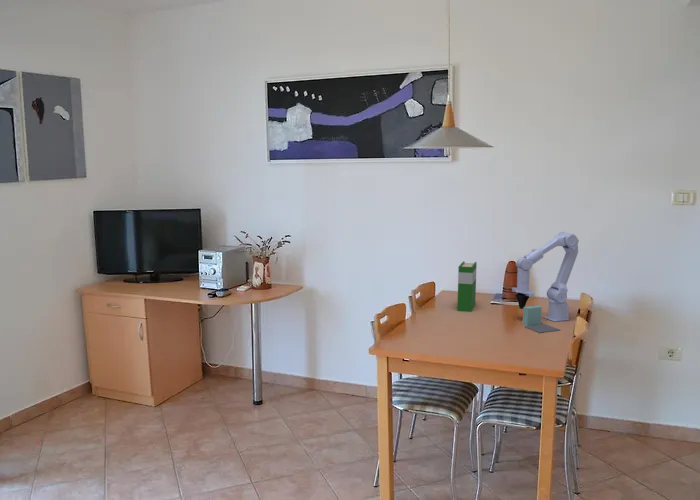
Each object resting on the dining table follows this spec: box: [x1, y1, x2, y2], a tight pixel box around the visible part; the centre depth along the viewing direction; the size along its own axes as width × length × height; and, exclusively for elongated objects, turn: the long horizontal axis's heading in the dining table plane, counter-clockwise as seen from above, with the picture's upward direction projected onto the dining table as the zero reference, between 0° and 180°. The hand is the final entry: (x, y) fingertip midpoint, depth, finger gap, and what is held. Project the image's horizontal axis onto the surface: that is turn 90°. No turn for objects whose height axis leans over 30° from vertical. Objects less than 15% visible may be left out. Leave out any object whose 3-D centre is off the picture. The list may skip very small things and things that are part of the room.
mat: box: [524, 323, 561, 334], centre depth 290 cm, size 12×11×1 cm
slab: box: [522, 304, 542, 327], centre depth 296 cm, size 8×4×9 cm, turn 112°
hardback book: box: [456, 261, 477, 313], centre depth 330 cm, size 18×7×24 cm, turn 162°
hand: (521, 308), depth 303 cm, fingers closed
